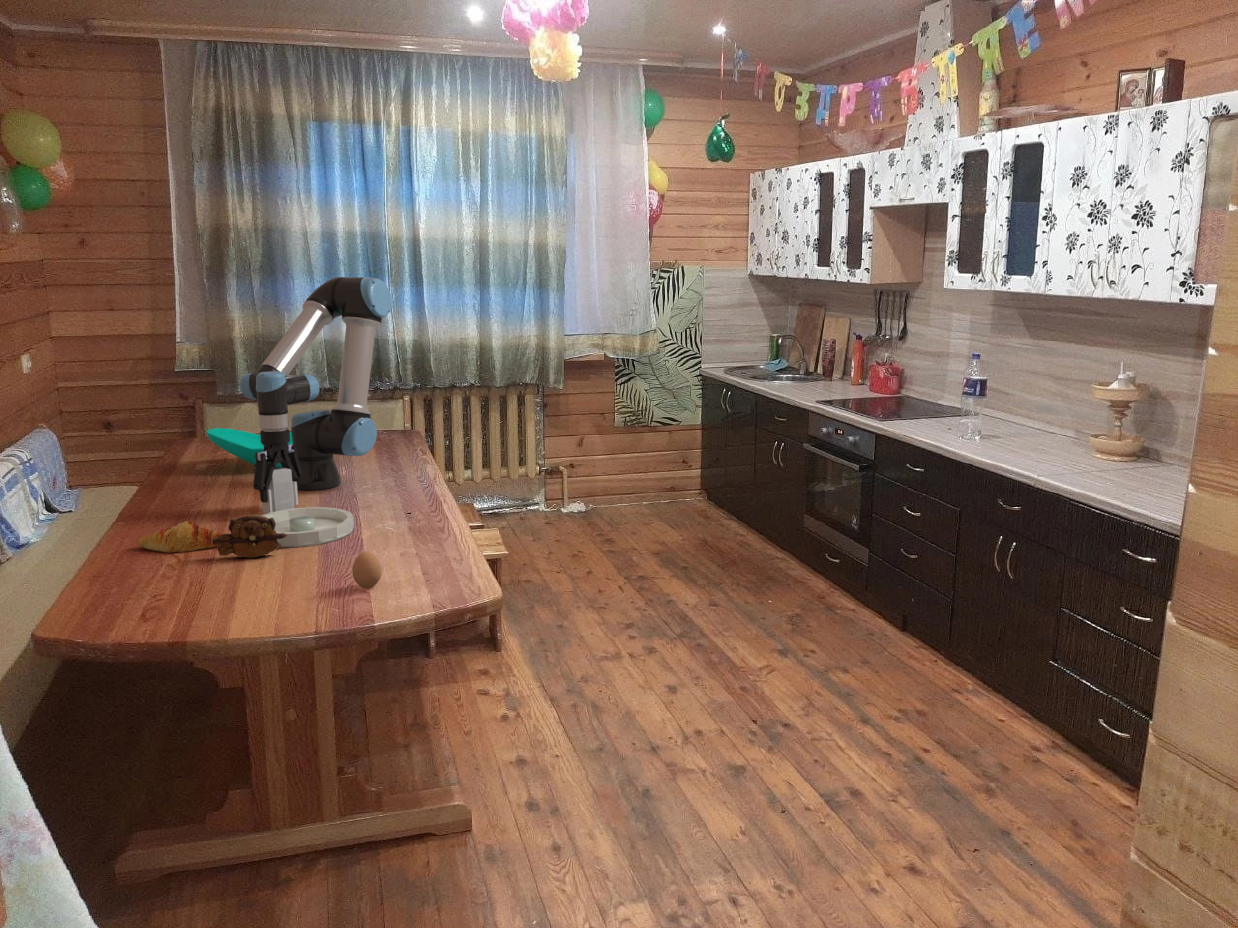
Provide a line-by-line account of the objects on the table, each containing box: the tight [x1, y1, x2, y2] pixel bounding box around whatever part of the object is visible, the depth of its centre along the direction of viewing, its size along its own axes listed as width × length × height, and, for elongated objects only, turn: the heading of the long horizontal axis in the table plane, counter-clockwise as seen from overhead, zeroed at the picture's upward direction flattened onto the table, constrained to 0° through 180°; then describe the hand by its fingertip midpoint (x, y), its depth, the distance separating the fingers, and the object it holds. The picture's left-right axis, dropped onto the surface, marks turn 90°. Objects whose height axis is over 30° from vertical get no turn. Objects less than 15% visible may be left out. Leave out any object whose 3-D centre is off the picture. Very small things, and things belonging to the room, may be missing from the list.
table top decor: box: [205, 427, 293, 469], centre depth 314 cm, size 40×28×13 cm
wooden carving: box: [212, 513, 287, 559], centre depth 218 cm, size 16×5×10 cm, turn 105°
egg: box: [351, 551, 382, 589], centre depth 198 cm, size 6×6×8 cm
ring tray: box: [261, 506, 355, 549], centre depth 238 cm, size 25×25×4 cm
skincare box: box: [268, 467, 296, 512], centre depth 257 cm, size 6×4×12 cm
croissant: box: [137, 520, 228, 554], centre depth 226 cm, size 21×10×8 cm, turn 97°
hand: (280, 508), depth 258 cm, fingers open, 10 cm apart
